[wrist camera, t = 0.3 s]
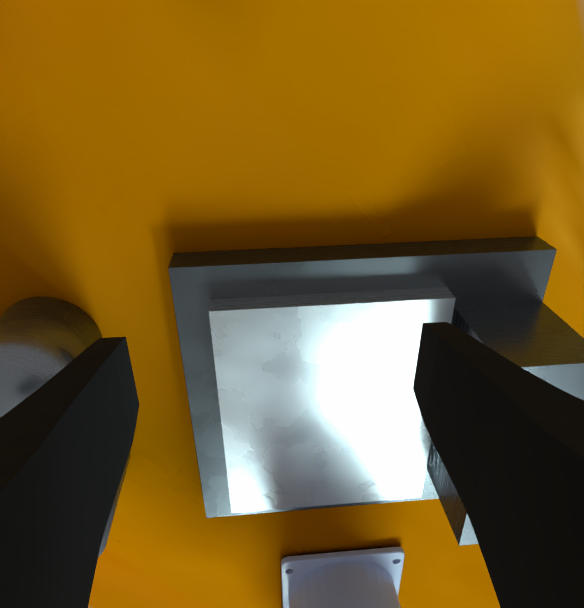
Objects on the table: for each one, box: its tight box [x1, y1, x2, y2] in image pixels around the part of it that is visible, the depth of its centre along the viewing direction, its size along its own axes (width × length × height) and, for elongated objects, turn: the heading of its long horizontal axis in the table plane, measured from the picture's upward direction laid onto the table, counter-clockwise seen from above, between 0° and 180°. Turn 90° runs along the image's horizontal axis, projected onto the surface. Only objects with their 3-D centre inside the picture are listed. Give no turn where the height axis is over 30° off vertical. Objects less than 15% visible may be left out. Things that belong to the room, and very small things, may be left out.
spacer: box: [0, 297, 102, 417], centre depth 20 cm, size 4×4×5 cm
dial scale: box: [168, 237, 584, 545], centre depth 22 cm, size 15×16×6 cm
